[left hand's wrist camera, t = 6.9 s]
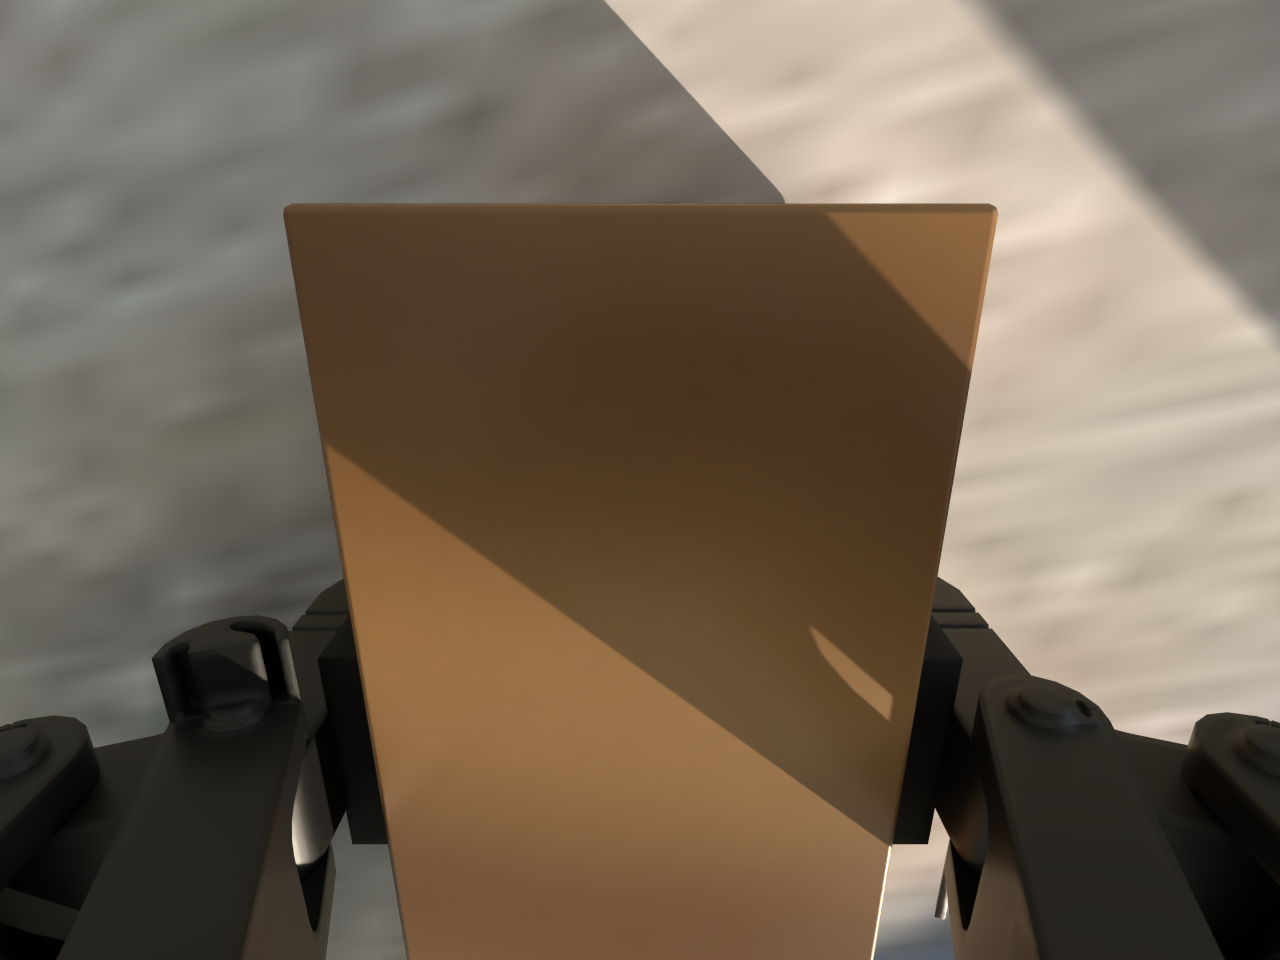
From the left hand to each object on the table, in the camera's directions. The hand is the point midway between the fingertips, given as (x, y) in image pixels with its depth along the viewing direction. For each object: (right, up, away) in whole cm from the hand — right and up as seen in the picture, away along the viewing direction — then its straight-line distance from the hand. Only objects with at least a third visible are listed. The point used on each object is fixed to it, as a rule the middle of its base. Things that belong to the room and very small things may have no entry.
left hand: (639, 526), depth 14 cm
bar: (0, -26, +10) cm, 28 cm away
